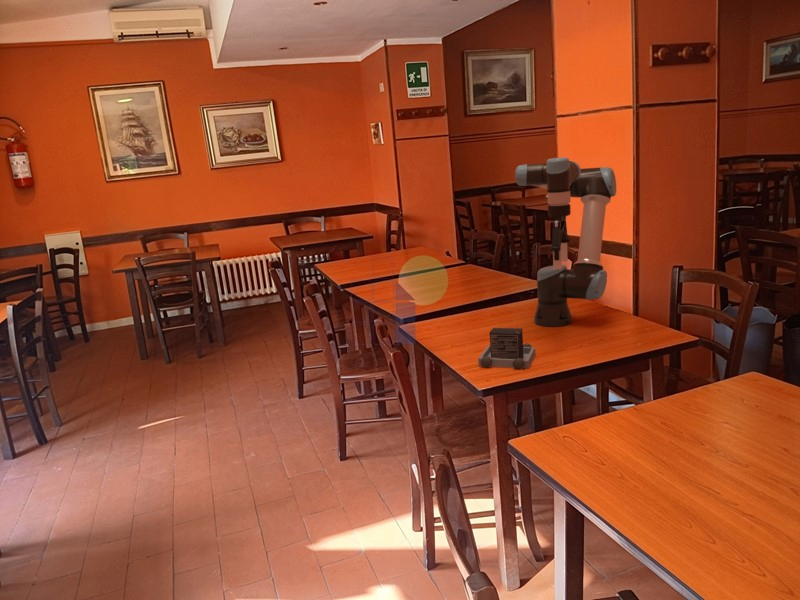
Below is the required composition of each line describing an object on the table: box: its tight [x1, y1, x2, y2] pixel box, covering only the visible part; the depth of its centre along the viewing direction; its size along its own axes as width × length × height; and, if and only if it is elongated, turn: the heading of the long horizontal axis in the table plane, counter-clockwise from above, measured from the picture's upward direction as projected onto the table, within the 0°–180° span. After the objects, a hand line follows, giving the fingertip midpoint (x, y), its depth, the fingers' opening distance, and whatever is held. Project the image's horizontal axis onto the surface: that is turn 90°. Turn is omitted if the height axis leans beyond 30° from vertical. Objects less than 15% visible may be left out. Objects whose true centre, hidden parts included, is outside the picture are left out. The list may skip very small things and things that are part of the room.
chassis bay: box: [477, 342, 536, 371], centre depth 209 cm, size 17×17×4 cm
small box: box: [489, 327, 524, 359], centre depth 208 cm, size 11×6×10 cm, turn 68°
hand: (560, 265), depth 210 cm, fingers open, 13 cm apart
